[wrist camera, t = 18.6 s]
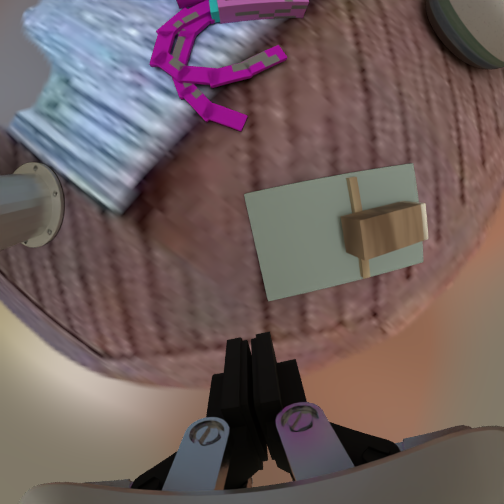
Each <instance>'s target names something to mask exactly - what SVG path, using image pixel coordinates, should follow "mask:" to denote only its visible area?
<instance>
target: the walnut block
mask: <svg viewBox="0 0 504 504" xmlns="http://www.w3.org/2000/svg"><path fill="white" fill-rule="evenodd" d="M340 217H341V223H342V229H343V236H344V242H345V249H346V253H349V254H351V255H353V256H355V257H358V258H360V259H362V260H364V261H366V260H369V259H372V258H375V257H378V256H381V255H384V254H387V253H389V252H392V251H395V250H398V249H401V248H404V247H407V246H410V245H413V244H415V243H418V242H421V241H424V240H427V239H428V227H427V216H426V206H425V203H418V202H410V201H400V202H396V203H392V204H388V205H384V206H380V207H376V208H372V209H368V210H364V211H360V212H356V213H352V214H348V215H344V216H340Z"/></svg>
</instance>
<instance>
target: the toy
mask: <svg viewBox="0 0 504 504" xmlns="http://www.w3.org/2000/svg"><path fill="white" fill-rule="evenodd" d="M176 1H177V3H178V6H179V8H180V9H181V8H183V9H182V10H181V11H180V12H178V13H177V14H176V15H175V16H173V17H172V18H171V19H170V20H169V21H167V22H166V23H165V24H164V25H163V26H162V27H160V28H159V29H158V30H157V31H156V32H157V34H158V36H157V39H156V43H155V46H154V50H153V53H152V57H151V60H150V64H149V65H150V66H151V67H160V68H161V69H162V70H164V71H165V72H166V73H168V74H169V75H170V76H172V79H173V81H174V84H175V87H176V89H177V92H178V95H179V97H180V99H181V100H182V99H185V100H186V101H187V102H188V103H189V104H190V105H191V106H192V107H193V108H194V109H195V111H196V112H197V113H198V114H199V115H200V116H201V117H202V118H203V119H204V120H205V121H206V123H207V122H208V121H209V120H210V121H213V122H216V123H219V124H221V125H224V126H227V127H230V128H232V129H235V130H238V131H240V132H241V131H242V129H243V127H244V124H245V122H246V120H247V117H248V116H247V115H244V114H242V113H239V112H236V111H234V110H231V109H228V108H225V107H223V106H220V105H217V104H214V103H211V102H210V101H209V100H208V99H207V98H206V96H205V95H204V94H203V93H202V92H201V91H200V90H199V89H198V88H197V87H196V86H195V85H194V84H203V85H210V86H211V88H214V87H218V86H221V85H225V84H229V83H233V82H237V81H241V80H245V79H249V78H252V76H253V75H255V74H258V73H260V72H262V71H264V70H266V69H268V68H270V67H272V66H274V65H277V64H279V63H281V62H283V61H286V60H287V56H286V55H285V53H284V52H283V50H282V49H281V48H280V46H279V45H277V46H275V47H273V48H271V49H268V50H266V51H264V52H262V53H259V54H257V55H255V56H253V57H251V58H249V59H247V60H245V61H243V62H242V63H238V64H233V65H229V66H225V67H222V68H218V69H217V68H207V67H195V66H187V63H188V60H189V57H190V53H191V50H192V47H193V44H194V41H195V38H196V36H197V35H198V34H199V33H200V32H201V31H202V30H203V29H204V28H206V27H207V26H208V25H209V24H210V23H211V24H213V23H216V22H221V24H223V23H230V22H238V21H248V20H259V19H275V18H303V16H304V13H305V11H306V8H307V6H308V3H309V0H176ZM191 6H193V7H191ZM186 7H191V8H189V9H187V8H186ZM176 34H177V35H178V39H177V42H176V45H175V48H174V51H173V54H172V55H170V52H171V49H172V45H173V41H174V38H175V35H176Z"/></svg>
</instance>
